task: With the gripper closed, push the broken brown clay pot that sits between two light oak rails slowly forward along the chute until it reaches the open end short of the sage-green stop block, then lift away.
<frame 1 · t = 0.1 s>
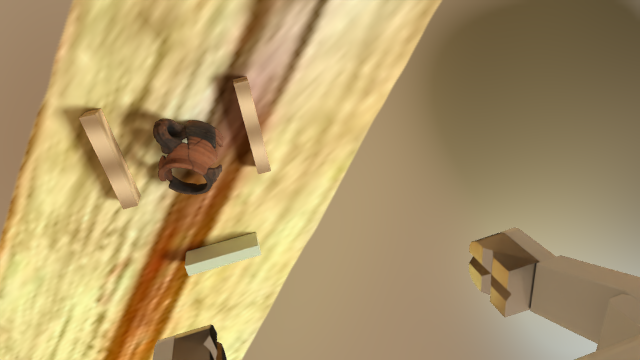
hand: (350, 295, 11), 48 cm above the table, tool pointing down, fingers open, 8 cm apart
stop block: (223, 246, 65), on the table
broken brown clay pot: (188, 144, 57), on the table
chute: (185, 139, 56), on the table
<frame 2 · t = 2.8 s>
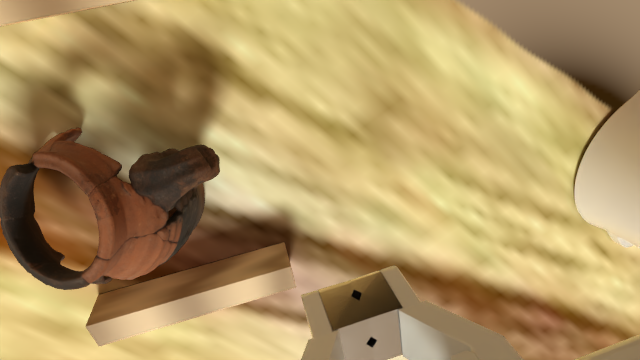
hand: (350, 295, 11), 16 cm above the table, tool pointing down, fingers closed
broken brown clay pot: (140, 177, 25), on the table
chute: (148, 161, 24), on the table
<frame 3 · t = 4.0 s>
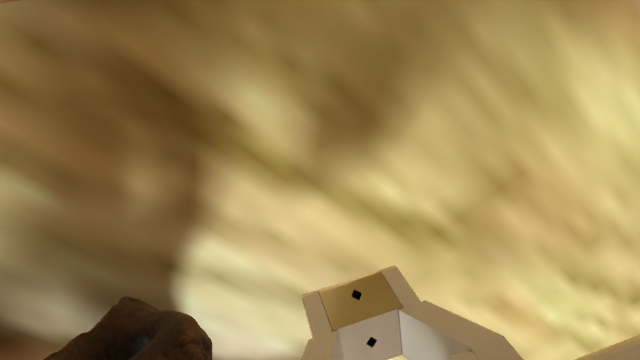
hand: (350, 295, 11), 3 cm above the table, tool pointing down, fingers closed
broken brown clay pot: (69, 334, 14), on the table
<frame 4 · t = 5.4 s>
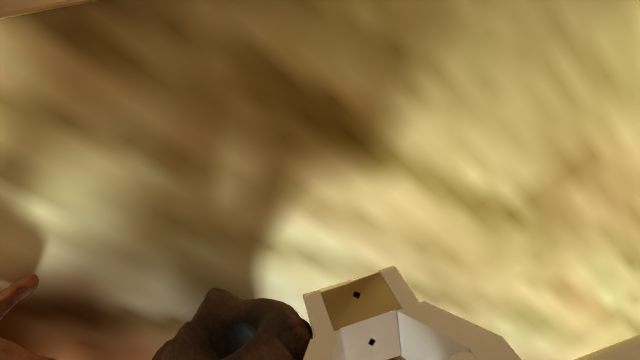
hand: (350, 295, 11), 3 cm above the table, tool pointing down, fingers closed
broken brown clay pot: (154, 326, 14), on the table, touching gripper
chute: (178, 282, 13), on the table
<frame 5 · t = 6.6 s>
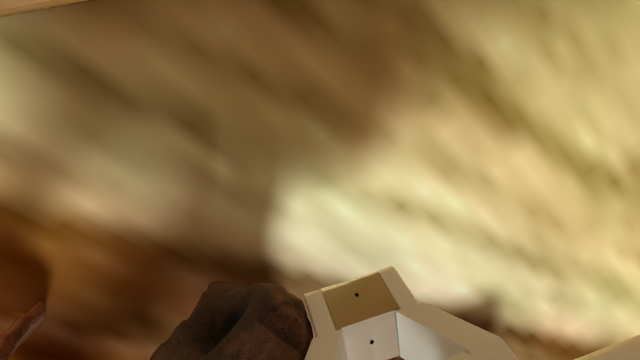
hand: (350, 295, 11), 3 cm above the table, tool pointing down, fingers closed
broken brown clay pot: (175, 328, 15), on the table, touching gripper
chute: (318, 238, 14), on the table
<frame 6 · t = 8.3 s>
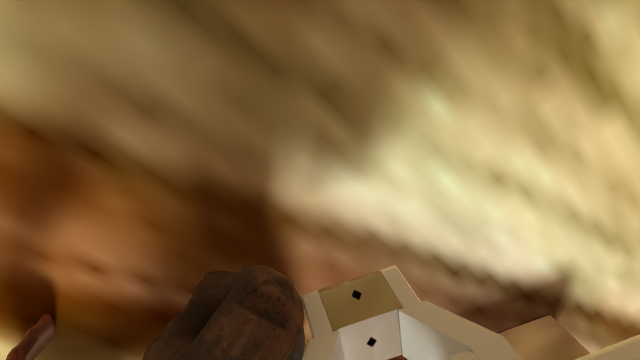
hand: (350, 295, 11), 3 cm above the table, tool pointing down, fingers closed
broken brown clay pot: (187, 323, 15), on the table
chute: (421, 209, 15), on the table
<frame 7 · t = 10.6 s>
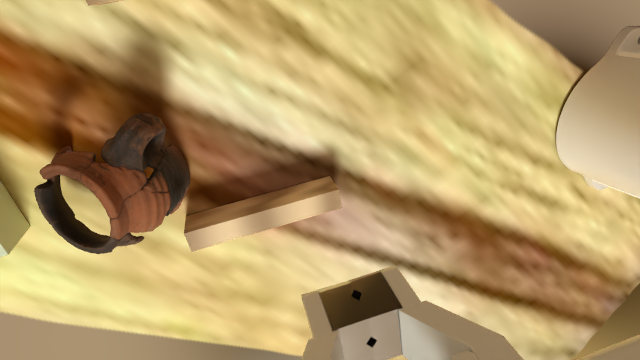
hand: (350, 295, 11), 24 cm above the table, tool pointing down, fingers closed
broken brown clay pot: (132, 162, 32), on the table
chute: (234, 104, 32), on the table
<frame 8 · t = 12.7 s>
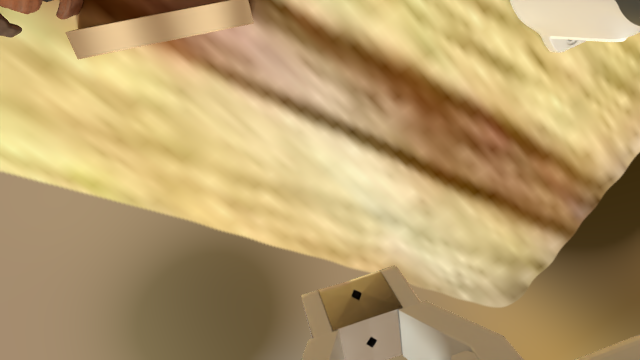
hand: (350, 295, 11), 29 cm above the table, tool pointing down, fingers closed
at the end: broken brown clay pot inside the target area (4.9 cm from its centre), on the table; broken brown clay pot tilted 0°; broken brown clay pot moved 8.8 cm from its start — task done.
